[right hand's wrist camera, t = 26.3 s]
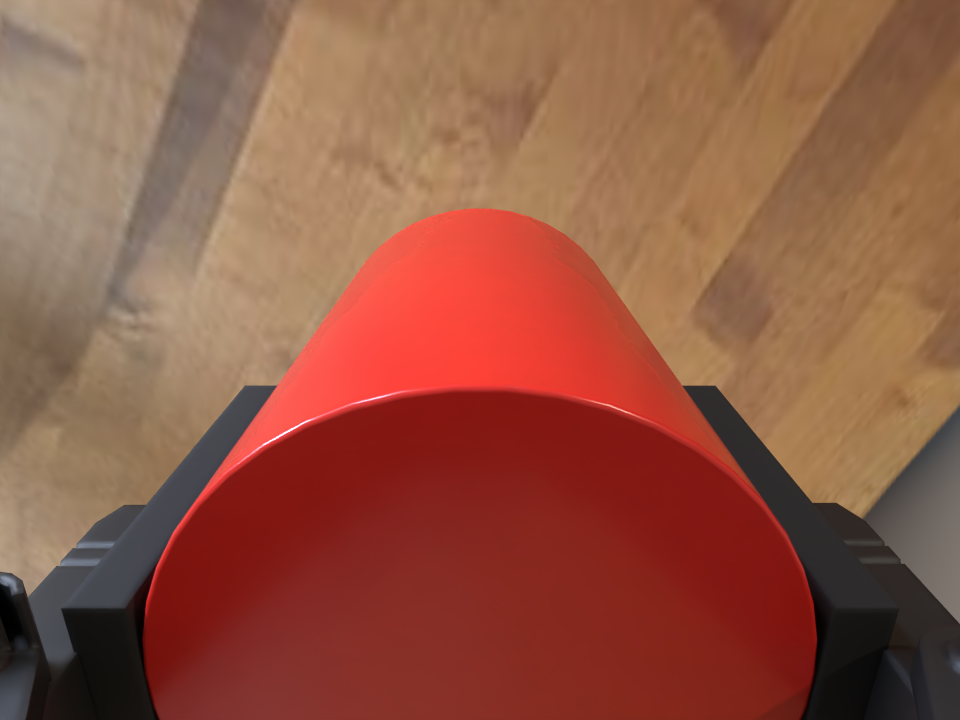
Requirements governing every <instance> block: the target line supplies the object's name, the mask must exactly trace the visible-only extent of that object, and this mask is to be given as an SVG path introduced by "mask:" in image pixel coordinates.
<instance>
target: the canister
mask: <svg viewBox="0 0 960 720" xmlns="http://www.w3.org/2000/svg"><path fill="white" fill-rule="evenodd" d="M142 640H143V654H144V669H145V676H146V680H147V684H148V688H149V692H150V697H151V701H152V705H153V707H154V710H155V712H156V715H157V717H158V719H159V720H801V719H802V716H803V714H804V712H805V709H806V707H807V703H808V699H809V695H810V691H811V687H812V683H813V679H814V675H815V663H816V650H817V632H816V622H815V613H814V603H813V599H812V595H811V592H810V588H809V585H808V581H807V578H806V574H805V571H804V567H803V565H802V563H801V561H800V559H799V557H798V555H797V553H796V551H795V549H794V547H793V544H792V542H791V540H790V538H789V536H788V534H787V532H786V531H785V530H784V528H783V527H782V525H781V524H780V523H779V521H778V520H777V518H776V517H775V516H774V514H773V513H772V511H771V510H770V508H769V507H768V506H767V504H766V503H765V501H764V500H763V499H762V497H761V496H760V494H759V493H758V492H757V490H756V489H755V487H754V486H753V485H752V483H751V482H750V480H749V479H748V478H747V476H746V475H745V473H744V472H743V470H742V469H741V468H740V466H739V465H738V463H737V462H736V461H735V459H734V458H733V456H732V455H731V454H730V452H729V451H728V449H727V448H726V447H725V445H724V444H723V442H722V441H721V440H720V438H719V437H718V435H717V434H716V432H715V431H714V430H713V428H712V427H711V425H710V424H709V423H708V421H707V420H706V418H705V417H704V416H703V414H702V413H701V411H700V410H699V409H698V407H697V406H696V404H695V403H694V402H693V400H692V399H691V397H690V396H689V394H688V393H687V392H686V390H685V389H684V387H683V386H682V385H681V383H680V382H679V380H678V379H677V378H676V376H675V375H674V373H673V372H672V371H671V369H670V368H669V366H668V365H667V364H666V362H665V361H664V359H663V358H662V356H661V355H660V354H659V352H658V351H657V349H656V348H655V347H654V345H653V344H652V342H651V341H650V340H649V338H648V337H647V335H646V334H645V333H644V331H643V330H642V328H641V327H640V326H639V324H638V323H637V321H636V320H635V318H634V317H633V316H632V314H631V313H630V311H629V310H628V309H627V307H626V306H625V304H624V303H623V302H622V300H621V299H620V297H619V296H618V295H617V293H616V292H615V290H614V289H613V288H612V286H611V285H610V283H609V282H608V280H607V279H606V278H605V276H604V275H603V273H602V272H601V271H600V269H599V268H598V266H597V265H596V264H595V262H594V261H593V260H592V259H591V258H590V257H589V255H588V254H587V253H586V252H585V251H584V250H583V249H582V248H581V247H580V246H579V245H577V244H576V243H575V242H574V241H572V240H571V239H570V238H569V237H567V236H566V235H565V234H563V233H561V232H560V231H558V230H556V229H555V228H553V227H551V226H550V225H548V224H546V223H543V222H541V221H539V220H536V219H534V218H532V217H529V216H525V215H522V214H518V213H514V212H511V211H504V210H496V209H464V210H456V211H449V212H446V213H442V214H438V215H435V216H431V217H428V218H426V219H424V220H421V221H419V222H417V223H414V224H412V225H410V226H409V227H407V228H405V229H403V230H402V231H400V232H398V233H397V234H395V235H394V236H393V237H391V238H390V239H389V240H387V241H386V242H385V243H384V244H382V245H381V246H380V247H379V248H378V249H377V250H376V251H375V252H374V253H373V254H372V255H371V256H370V257H369V258H368V260H367V261H366V262H365V263H364V265H363V266H362V268H361V269H360V270H359V272H358V273H357V275H356V276H355V277H354V279H353V280H352V282H351V283H350V284H349V286H348V287H347V289H346V290H345V291H344V293H343V294H342V296H341V297H340V298H339V300H338V301H337V303H336V304H335V306H334V307H333V308H332V310H331V311H330V313H329V314H328V315H327V317H326V318H325V320H324V321H323V322H322V324H321V325H320V327H319V328H318V329H317V331H316V332H315V334H314V335H313V336H312V338H311V339H310V341H309V342H308V343H307V345H306V346H305V348H304V349H303V350H302V352H301V353H300V355H299V356H298V357H297V359H296V360H295V362H294V363H293V364H292V366H291V367H290V369H289V370H288V372H287V373H286V374H285V376H284V377H283V379H282V380H281V381H280V383H279V384H278V386H277V387H276V388H275V390H274V391H273V393H272V394H271V395H270V397H269V398H268V400H267V401H266V402H265V404H264V405H263V407H262V408H261V409H260V411H259V412H258V414H257V415H256V416H255V418H254V419H253V421H252V422H251V423H250V425H249V426H248V428H247V429H246V430H245V432H244V433H243V435H242V436H241V438H240V439H239V440H238V442H237V443H236V445H235V446H234V447H233V449H232V450H231V452H230V453H229V454H228V456H227V457H226V459H225V460H224V461H223V463H222V464H221V466H220V467H219V468H218V470H217V471H216V473H215V474H214V475H213V477H212V478H211V480H210V481H209V482H208V484H207V485H206V487H205V488H204V489H203V491H202V492H201V494H200V495H199V497H198V498H197V499H196V501H195V502H194V504H193V505H192V506H191V508H190V509H189V511H188V512H187V513H186V515H185V516H184V518H183V519H182V520H181V522H180V523H179V525H178V526H177V527H176V529H175V530H174V532H173V533H172V536H171V538H170V540H169V542H168V544H167V546H166V548H165V550H164V552H163V554H162V556H161V558H160V560H159V562H158V564H157V566H156V570H155V573H154V576H153V580H152V583H151V587H150V590H149V594H148V597H147V600H146V609H145V619H144V628H143V639H142Z"/></svg>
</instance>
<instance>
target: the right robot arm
mask: <svg viewBox="0 0 960 720" xmlns="http://www.w3.org/2000/svg"><path fill="white" fill-rule="evenodd" d="M276 387H277V386H244V388H243V389H242V390H241V391H240V392H239V394H238V395H237V396H236V397H235V399H234V400H233V401H232V402H231V403H230V405H229V406H228V407H227V408H226V409H225V411H224V412H223V413H222V414H221V415H220V417H219V418H218V419H217V420H216V421H215V423H214V424H213V425H212V426H211V428H210V429H209V430H208V431H207V432H206V434H205V435H204V436H203V437H202V438H201V440H200V441H199V442H198V443H197V444H196V446H195V447H194V448H193V449H192V450H191V452H190V453H189V454H188V455H187V457H186V458H185V459H184V460H183V461H182V463H181V464H180V465H179V466H178V467H177V469H176V470H175V471H174V472H173V473H172V475H171V476H170V477H169V478H168V479H167V481H166V482H165V483H164V484H163V486H162V487H161V488H160V489H159V490H158V492H157V493H156V494H155V495H154V496H153V498H152V499H151V500H150V501H149V502H148V504H147V505H124V506H122V507H121V508H119V509H117V510H116V511H114V512H113V513H111V514H109V515H108V516H106V517H105V518H103V519H101V520H100V521H98V522H97V523H95V525H94V526H93V527H92V528H91V529H90V530H89V531H88V532H87V533H86V534H85V536H84V537H83V538H82V539H81V540H80V541H79V542H78V543H77V547H76V548H73V549H72V550H71V551H70V552H69V553H68V554H67V555H66V556H65V557H64V559H63V560H62V561H61V565H60V566H56V567H55V568H54V570H53V571H52V572H51V573H50V574H49V575H48V576H47V577H46V578H45V579H44V581H43V582H42V583H41V584H40V585H39V586H38V587H37V588H36V589H35V590H34V591H33V593H32V594H31V595H30V596H29V597H27V594H26V591H25V588H24V584H23V581H22V580H21V579H19V578H18V577H16V576H15V575H13V574H12V573H5V572H0V720H159V719H158V717H157V715H156V712H155V710H154V707H153V705H152V701H151V697H150V692H149V688H148V684H147V680H146V676H145V669H144V654H143V640H142V639H143V628H144V619H145V609H146V600H147V597H148V594H149V590H150V587H151V583H152V580H153V576H154V573H155V570H156V566H157V564H158V562H159V560H160V558H161V556H162V554H163V552H164V550H165V548H166V546H167V544H168V542H169V540H170V538H171V536H172V533H173V532H174V530H175V529H176V527H177V526H178V525H179V523H180V522H181V520H182V519H183V518H184V516H185V515H186V513H187V512H188V511H189V509H190V508H191V506H192V505H193V504H194V502H195V501H196V499H197V498H198V497H199V495H200V494H201V492H202V491H203V489H204V488H205V487H206V485H207V484H208V482H209V481H210V480H211V478H212V477H213V475H214V474H215V473H216V471H217V470H218V468H219V467H220V466H221V464H222V463H223V461H224V460H225V459H226V457H227V456H228V454H229V453H230V452H231V450H232V449H233V447H234V446H235V445H236V443H237V442H238V440H239V439H240V438H241V436H242V435H243V433H244V432H245V430H246V429H247V428H248V426H249V425H250V423H251V422H252V421H253V419H254V418H255V416H256V415H257V414H258V412H259V411H260V409H261V408H262V407H263V405H264V404H265V402H266V401H267V400H268V398H269V397H270V395H271V394H272V393H273V391H274V390H275V388H276ZM683 387H684V389H685V390H686V392H687V393H688V394H689V396H690V397H691V399H692V400H693V402H694V403H695V404H696V406H697V407H698V409H699V410H700V411H701V413H702V414H703V416H704V417H705V418H706V420H707V421H708V423H709V424H710V425H711V427H712V428H713V430H714V431H715V432H716V434H717V435H718V437H719V438H720V440H721V441H722V442H723V444H724V445H725V447H726V448H727V449H728V451H729V452H730V454H731V455H732V456H733V458H734V459H735V461H736V462H737V463H738V465H739V466H740V468H741V469H742V470H743V472H744V473H745V475H746V476H747V478H748V479H749V480H750V482H751V483H752V485H753V486H754V487H755V489H756V490H757V492H758V493H759V494H760V496H761V497H762V499H763V500H764V501H765V503H766V504H767V506H768V507H769V508H770V510H771V511H772V513H773V514H774V516H775V517H776V518H777V520H778V521H779V523H780V524H781V525H782V527H783V528H784V530H785V531H786V532H787V534H788V536H789V538H790V540H791V542H792V544H793V547H794V549H795V551H796V553H797V555H798V557H799V559H800V561H801V563H802V565H803V567H804V571H805V574H806V578H807V581H808V585H809V588H810V592H811V595H812V599H813V603H814V613H815V622H816V632H817V650H816V663H815V675H814V679H813V683H812V687H811V691H810V695H809V699H808V703H807V707H806V709H805V712H804V714H803V716H802V719H801V720H960V624H959V623H958V622H957V620H956V619H955V618H954V617H953V616H952V615H951V614H950V613H949V612H948V611H947V610H946V608H945V607H944V606H943V605H942V604H941V603H940V602H939V601H938V600H937V599H936V598H935V597H934V595H933V594H932V593H931V592H930V591H929V590H928V589H927V588H926V587H925V586H924V585H923V584H922V582H921V581H920V580H919V579H918V578H917V577H916V576H915V575H914V574H913V573H912V571H911V570H910V569H909V568H908V567H907V566H906V565H905V564H901V562H900V558H899V557H898V556H897V555H896V554H895V553H894V552H893V551H892V550H891V549H890V548H889V546H885V545H884V541H883V540H882V539H881V538H880V537H879V536H878V534H877V533H876V532H875V531H874V530H873V529H872V528H871V527H870V526H869V525H868V524H867V522H866V521H864V520H863V519H861V518H860V517H858V516H856V515H855V514H853V513H852V512H850V511H848V510H847V509H845V508H844V507H842V506H841V505H839V504H837V503H812V502H811V501H810V499H809V498H808V497H807V496H806V495H805V493H804V492H803V491H802V490H801V489H800V487H799V486H798V485H797V484H796V483H795V481H794V480H793V479H792V478H791V477H790V475H789V474H788V473H787V472H786V470H785V469H784V468H783V467H782V466H781V464H780V463H779V462H778V461H777V460H776V458H775V457H774V456H773V455H772V454H771V452H770V451H769V450H768V449H767V448H766V446H765V445H764V444H763V443H762V441H761V440H760V439H759V438H758V437H757V435H756V434H755V433H754V432H753V431H752V429H751V428H750V427H749V426H748V425H747V423H746V422H745V421H744V420H743V419H742V417H741V416H740V415H739V414H738V412H737V411H736V410H735V409H734V408H733V406H732V405H731V404H730V403H729V402H728V400H727V399H726V398H725V397H724V396H723V394H722V393H721V392H720V391H719V390H718V388H717V387H716V386H683Z"/></svg>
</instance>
